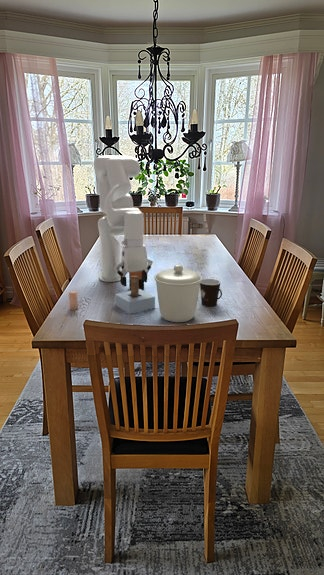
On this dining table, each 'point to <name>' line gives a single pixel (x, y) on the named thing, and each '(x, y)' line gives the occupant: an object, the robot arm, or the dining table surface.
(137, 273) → the battery
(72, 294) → the short dowel
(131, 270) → the robot arm
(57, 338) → the dining table surface
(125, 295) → the hole block
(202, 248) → the dining table surface
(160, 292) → the canister
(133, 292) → the long dowel
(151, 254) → the dining table surface
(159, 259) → the dining table surface
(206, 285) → the coffee mug
